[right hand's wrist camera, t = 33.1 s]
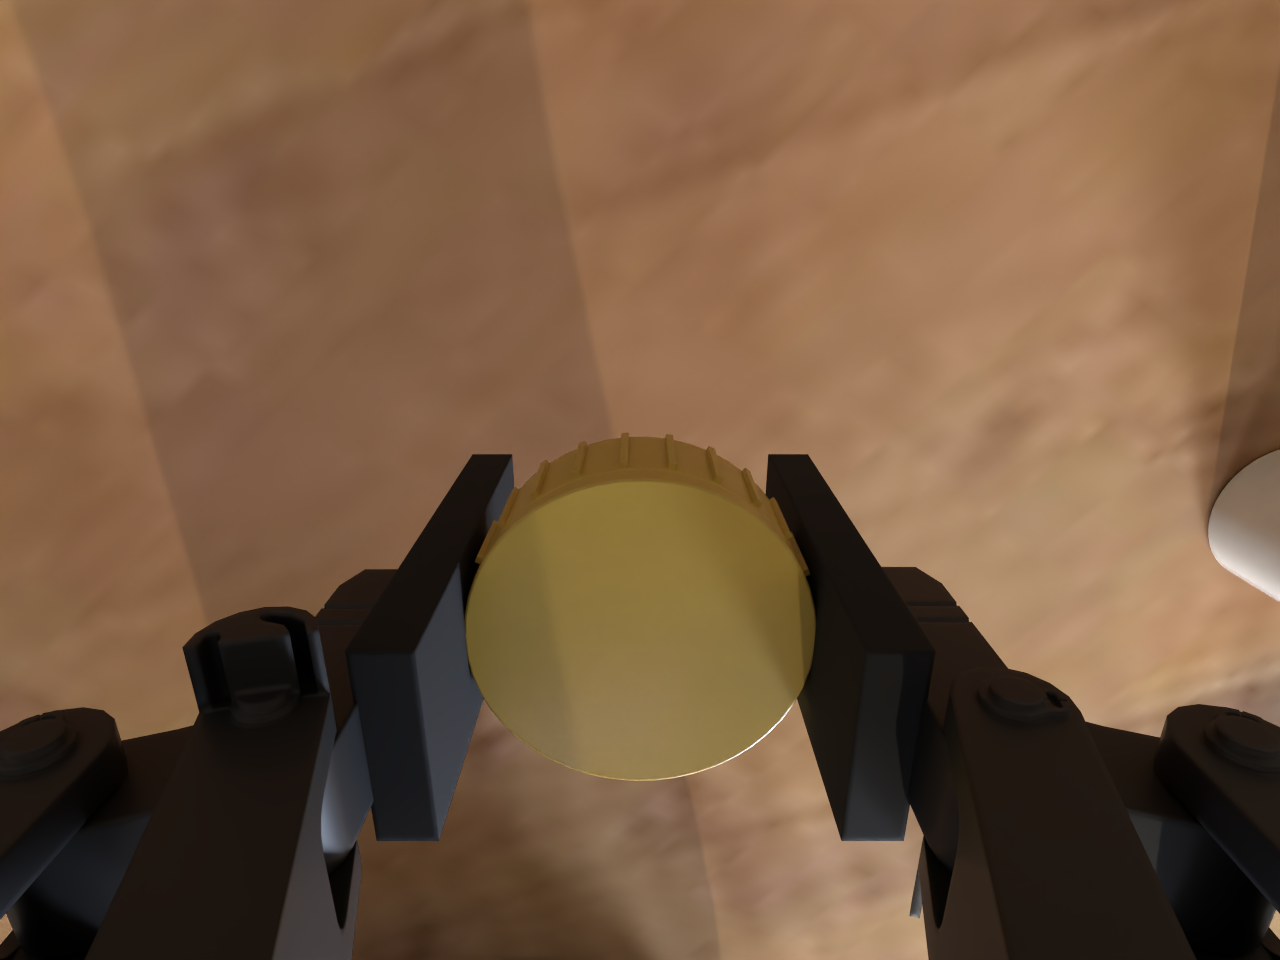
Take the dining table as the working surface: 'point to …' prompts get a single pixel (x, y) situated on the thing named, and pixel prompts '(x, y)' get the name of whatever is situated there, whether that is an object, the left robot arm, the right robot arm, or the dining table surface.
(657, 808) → the dining table surface
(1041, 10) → the dining table surface
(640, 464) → the lid
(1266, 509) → the white cylindrical bottle
